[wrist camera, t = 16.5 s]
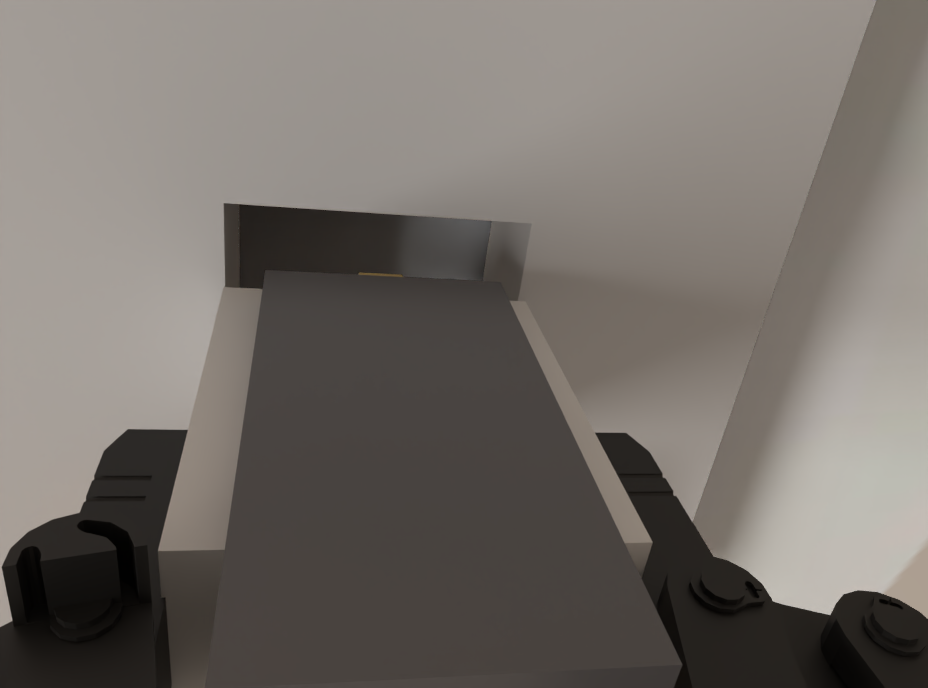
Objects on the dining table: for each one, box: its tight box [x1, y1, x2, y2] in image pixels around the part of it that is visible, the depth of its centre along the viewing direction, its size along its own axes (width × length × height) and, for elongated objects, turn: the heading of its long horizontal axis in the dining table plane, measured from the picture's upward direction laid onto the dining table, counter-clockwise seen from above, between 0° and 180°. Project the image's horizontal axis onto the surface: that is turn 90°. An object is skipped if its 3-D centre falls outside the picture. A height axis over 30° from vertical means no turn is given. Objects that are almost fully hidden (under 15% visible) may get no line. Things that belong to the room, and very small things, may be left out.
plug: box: [205, 270, 682, 688], centre depth 11 cm, size 4×4×9 cm
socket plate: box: [0, 0, 876, 627], centre depth 16 cm, size 20×16×3 cm
